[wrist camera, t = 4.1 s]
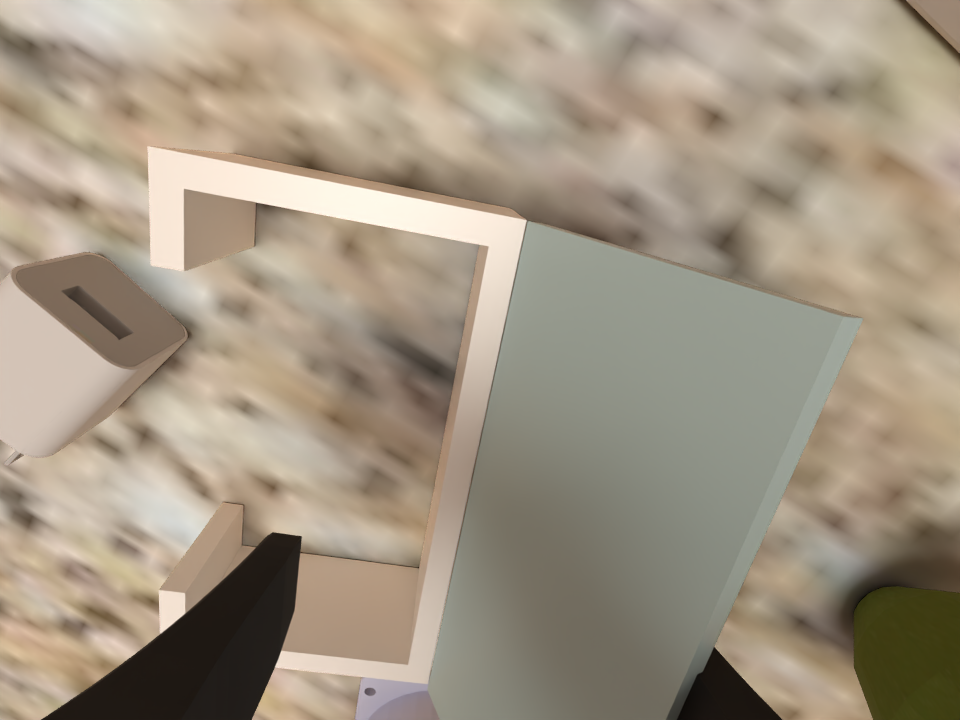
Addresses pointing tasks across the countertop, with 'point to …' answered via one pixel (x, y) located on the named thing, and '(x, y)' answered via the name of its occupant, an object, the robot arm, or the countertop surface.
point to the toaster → (941, 17)
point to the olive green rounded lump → (909, 653)
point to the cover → (623, 479)
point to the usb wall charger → (74, 349)
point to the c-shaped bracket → (422, 591)
